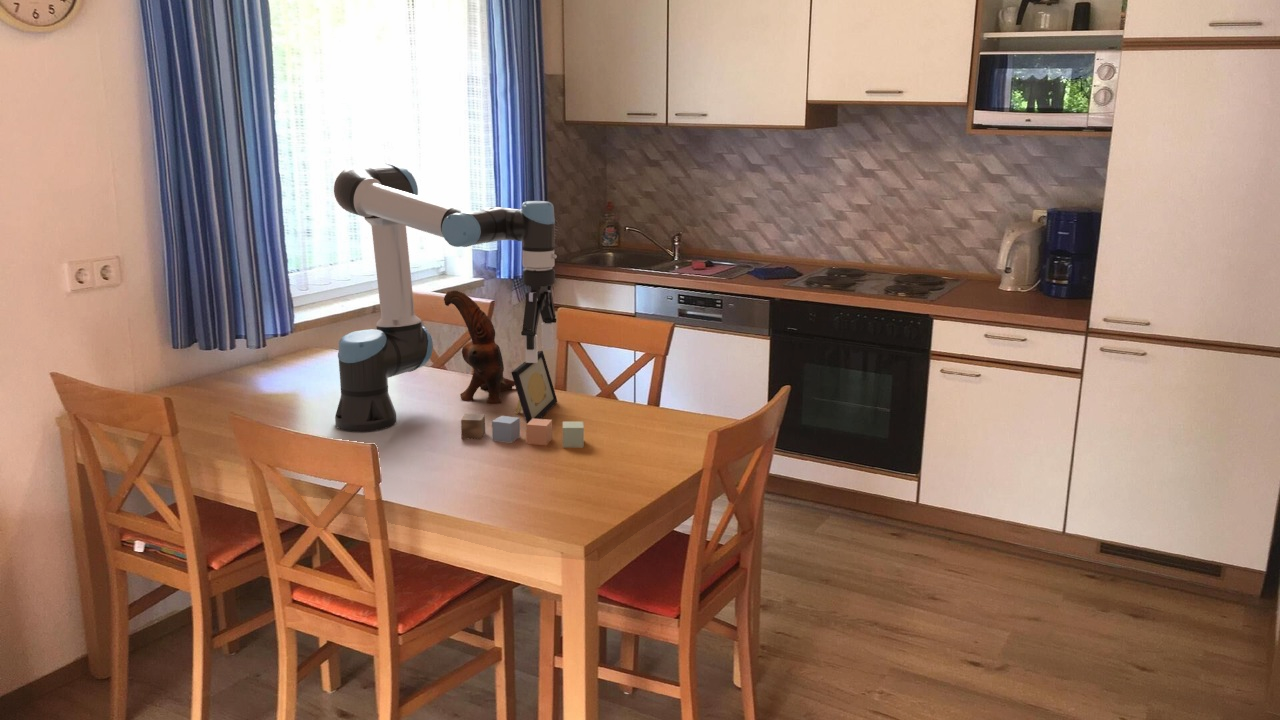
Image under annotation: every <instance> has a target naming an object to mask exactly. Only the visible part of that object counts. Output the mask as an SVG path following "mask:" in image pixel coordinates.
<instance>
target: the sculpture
mask: <svg viewBox="0 0 1280 720" xmlns="http://www.w3.org/2000/svg"><path fill="white" fill-rule="evenodd" d="M443 301H444V305H445V306H446V307H449V306H450V305H451V304H452V305H454V306H455V307H456V308H455V309H457V311H458V312H459V313H460V315H461V317H462V319H463V321H464V323H465V325H466V327H467V330H468V334H469V336H470V339H471V341H468V342H466V343H464V345H463V346H462V349H461V355H462V358H463V361H464V362H465V363H466V364H468V365H469V366H470V367H471V368H472V369H473V372H472V373H473V374H472V376H471V380H470V383H469V384H468V386H467V388H466V389H465V390H464V391H462V392H461V393H460V394H459V395H460V399H462V400H463V401H464V402H465V401H466V402H472V401H474V397H475V396H474V395H475V394H476V392H477V390H478V389H479V388H480V389H482V390H488V397H487V400H486V404H490V405H499V404H501V403H502V401H501V392H503V391H507V390H512V389H513V387H515V383H514V380H512V379H509V378H506V377H504V371H505V367H504V361H503V360H504V359H503V355H502V351H501V349H500V346H499V345H498V344H497V343H496V341H495V340H496V339H495V338H496V330H495V326H494V325H493V322H492V320H491V319H490V318H489V316H488V315H487V314H486V313H485V312H484V310H482V309H481V308H480V306H479V305H478V303H476V301H474V300H473V299H472V298H471V297H469V296H468V295H467V294H466V293H464V292H463V291H459V290H450V291H447V292H446V294H445V295H444V297H443Z"/></svg>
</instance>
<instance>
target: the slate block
mask: <svg viewBox="0 0 1280 720" xmlns="http://www.w3.org/2000/svg"><path fill="white" fill-rule="evenodd" d="M520 419H521V418H520V417H517V416H508V415H507V416H506V415H500V416H499V417H497V418H495V419H494V420H492V421H491V426H492V427H491V428H492V429H491V431H492V432H491V433H492V434H491V435H492V437H491V439H492V441H495V442H501V443H502V442H503V443H508V444H509V443H510V444H512V443H513V442H514V441H516V440H517V439H519V438H520V437H521V422H520V421H521V420H520Z"/></svg>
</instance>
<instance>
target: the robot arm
mask: <svg viewBox="0 0 1280 720" xmlns="http://www.w3.org/2000/svg"><path fill="white" fill-rule="evenodd" d="M333 194H334V198H335V201H336V203H337V204H338V205H339V206H340V207H341V208H342V209H343V210H345V211H346V212H349V213H351V214H353V215H357V216H360V217H363V218H364V220H365V221H366V222H367V223H368V224H369V225H370V226H371V233H372V243H373V251H374V252H373V253H374V260H375V262H374V263H375V272H376V280H377V289H378V297H379V298H378V299H379V308H380V318H379V319H378V320H377V321H376V323H375V326H376V328H375V329H371V328H367V329H363V330H360V329H358V330H355V331H352V332H349V333H346V334H345V335H343V336H342V337H341V338H340V339H339V341H338V352H337V359H338V368H339V370H338V371H339V381H340V384H339V385H340V398H339V402H338V404H337V409H336V411H335V417H334V419H335V420H334V421H335V426H336V428H337V427H338V428H337V429H339V430H342V431H347V432H352V433H353V432H358V433H359V432H360V433H362V432H376V431H380V430H381V431H382V430H385V429H388V428H390V427H392V426H394V425H395V424H396V423H397V411H396V409H395V407H394V404H393V401H392V399H391V396H390V394H389V383H388V382H389V381H388V378H392V377H395V376H398V375H400V374H404V373H412V372H414V371H416V370H418V369H420V368H423V367H424V366H425V365H426V364H427V363H428V362H429V361H430V359H431V358H432V355H433V349H434V344H433V343H434V341H433V338H432V335H431V333H429V330H428V329H427V328H426V327H425V326H424V325H423V323H422V318H420V317H418V316H417V315H416V314H415V304H414V303H415V302H414V295H413V294H414V292H413V283H412V276H411V265H410V264H411V263H410V254H409V245H408V233H407V227H410V228H412V229H415V230H418V231H421V232H424V233H428V234H430V235H435V236H436V237H437V236H438V237H441V238H443V239H444V240H445V241H446V242H447V243H448V245H450V246H452V247H454V248H455V247H456V248H459V247H460V248H461V247H462V248H467V247H471V246H476V245H481V244H487V243H493V242H499V241H514V242H515V241H516V242H521V243H522V244H521V245H522V252H521V254H522V263H521V264H522V267H523V269H522V283H523V285H525V286H528V287H530V292H528V291H527V292H525V303H524V304H525V306H524V313H523V320H522V321H523V323H522V330H521V334H520V335H521V336H523V337H524V339H525V340H524V341H525V344H524V347H525V348H524V349H525V361H526V363H537V362H538V351H539V350H538V335H537V331H538V326H539V321H540V317H541V320H542V322H541V328H540V329H541V350H547V351H553V350H554V324H555V323H557V318H556V310H555V304H554V298H553V291H552V290H553V289H552V287H553V285H555V284H556V272H555V271H556V270H555V269H554V268H553V267H555V259H557V257H558V256H557V254H555V228H556V227H555V226H556V225H555V224H556V219H555V207H554V206H555V205H554V204H553V203H552V202H550V201H547V200H546V201H545V200H544V201H543V200H526V201H524V202H522V204H521V208H512V207H511V208H509V207H502V206H487V207H484V208H483V209H480V210H472V211H471V210H466V209H463V208H459V207H457V206H453V205H450V204H447V203H443V202H440V201H437V200H433V199H431V198H426V197H422V196H419V189H418V185H417V181H416V179H415V177H414V176H413V174H412V172H410V171H409V170H408V169H407V167H405V166H403V165H401V164H397V163H395V164H394V163H383V164H382V163H380V164H368V165H367V164H365V165H352V166H349V167H347V168H345V169H344V170H342V171H341V172H340V173H339V174H338V176H337V177H336V179H335V181H334V185H333Z"/></svg>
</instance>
